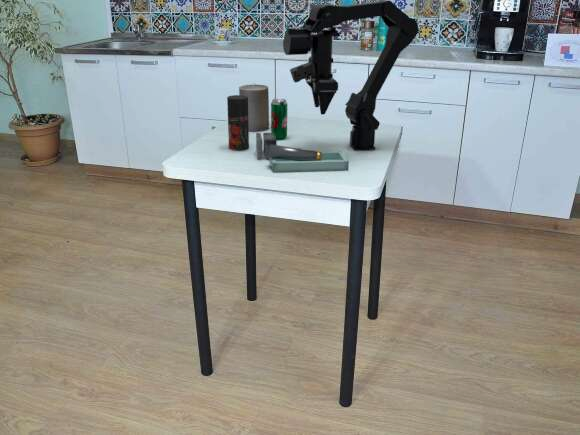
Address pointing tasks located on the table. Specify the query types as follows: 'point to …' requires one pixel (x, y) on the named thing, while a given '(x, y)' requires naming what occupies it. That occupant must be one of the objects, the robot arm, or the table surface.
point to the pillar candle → (257, 106)
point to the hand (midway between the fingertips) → (319, 110)
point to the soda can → (279, 118)
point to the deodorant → (238, 122)
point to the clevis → (264, 144)
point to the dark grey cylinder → (293, 153)
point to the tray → (312, 163)
